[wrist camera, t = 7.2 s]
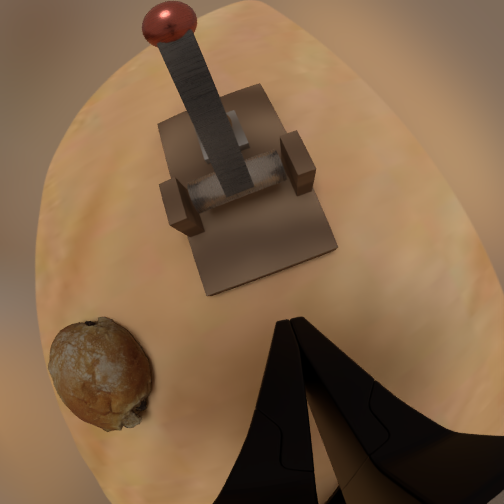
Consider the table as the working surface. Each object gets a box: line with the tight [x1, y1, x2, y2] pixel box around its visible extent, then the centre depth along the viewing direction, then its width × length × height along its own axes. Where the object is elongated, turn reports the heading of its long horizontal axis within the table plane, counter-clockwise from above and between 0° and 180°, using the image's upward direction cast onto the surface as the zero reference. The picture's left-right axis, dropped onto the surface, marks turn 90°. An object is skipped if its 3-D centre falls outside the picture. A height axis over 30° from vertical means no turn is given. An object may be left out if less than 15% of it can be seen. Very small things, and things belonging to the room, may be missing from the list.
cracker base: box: [158, 83, 338, 296], centre depth 20 cm, size 16×10×6 cm, turn 20°
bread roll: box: [48, 317, 152, 432], centre depth 20 cm, size 10×10×8 cm
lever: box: [142, 1, 287, 213], centre depth 15 cm, size 6×6×13 cm
